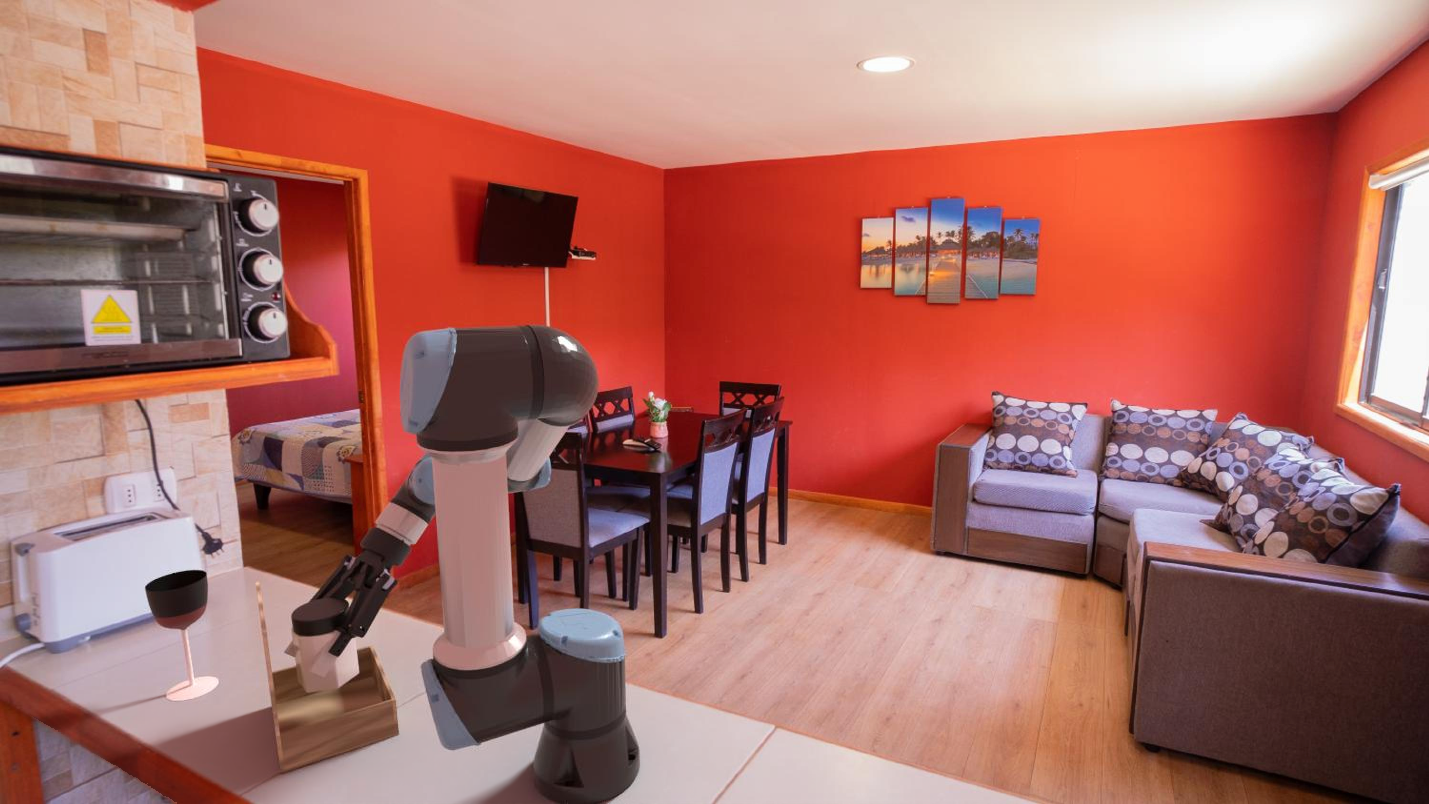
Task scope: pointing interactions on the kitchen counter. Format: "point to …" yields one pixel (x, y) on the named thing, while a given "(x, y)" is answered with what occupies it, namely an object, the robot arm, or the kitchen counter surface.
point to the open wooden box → (328, 710)
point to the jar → (321, 643)
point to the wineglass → (181, 620)
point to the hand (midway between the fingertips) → (303, 664)
